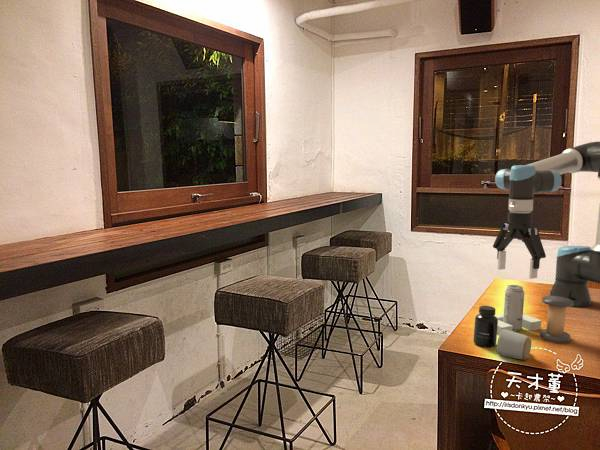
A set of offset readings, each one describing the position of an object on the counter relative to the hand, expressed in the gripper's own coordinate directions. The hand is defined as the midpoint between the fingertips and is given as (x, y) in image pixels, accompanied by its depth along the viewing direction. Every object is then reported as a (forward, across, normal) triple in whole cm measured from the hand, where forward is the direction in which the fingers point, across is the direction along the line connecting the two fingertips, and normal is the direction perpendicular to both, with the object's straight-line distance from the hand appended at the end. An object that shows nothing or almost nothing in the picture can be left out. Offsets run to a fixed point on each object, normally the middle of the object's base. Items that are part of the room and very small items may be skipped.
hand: (516, 273), depth 169 cm
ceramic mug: (+20, +17, -18) cm, 32 cm away
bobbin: (+20, +12, +5) cm, 24 cm away
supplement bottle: (+20, +7, -20) cm, 29 cm away
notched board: (+20, -1, -1) cm, 20 cm away
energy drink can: (+20, 0, -1) cm, 20 cm away
